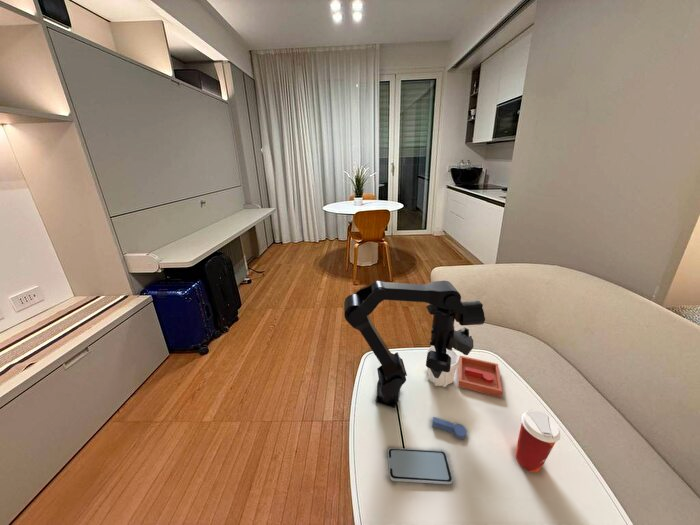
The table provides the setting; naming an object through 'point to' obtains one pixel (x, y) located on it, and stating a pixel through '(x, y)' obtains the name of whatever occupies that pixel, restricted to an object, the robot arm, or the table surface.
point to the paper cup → (536, 439)
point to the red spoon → (479, 374)
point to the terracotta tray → (477, 383)
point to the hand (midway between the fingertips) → (437, 366)
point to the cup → (445, 376)
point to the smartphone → (419, 466)
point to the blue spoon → (450, 427)
